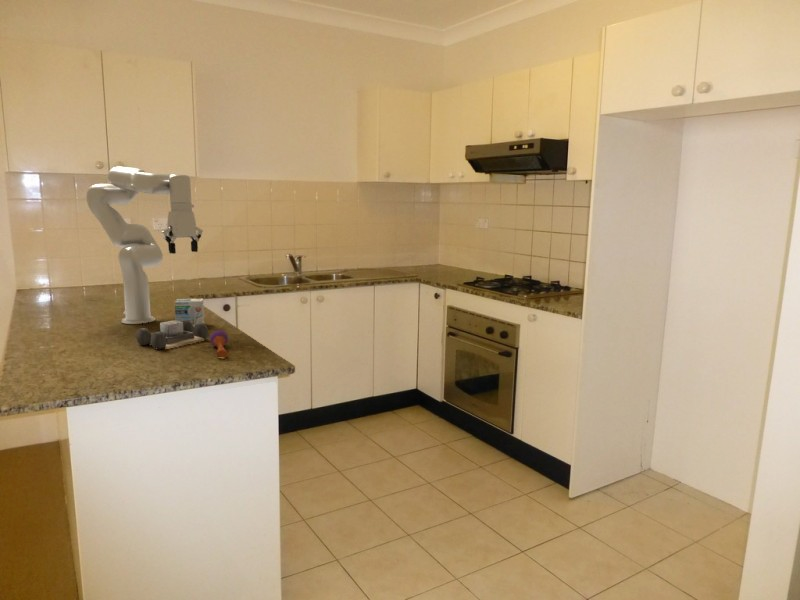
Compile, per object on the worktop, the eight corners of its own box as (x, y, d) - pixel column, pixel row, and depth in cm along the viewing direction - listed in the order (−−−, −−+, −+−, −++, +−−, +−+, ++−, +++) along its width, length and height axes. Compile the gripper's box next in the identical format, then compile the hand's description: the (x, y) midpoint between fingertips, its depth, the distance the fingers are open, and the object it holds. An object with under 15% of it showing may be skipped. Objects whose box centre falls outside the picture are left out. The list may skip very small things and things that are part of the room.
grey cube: (160, 339, 206) (159, 322, 205) (174, 336, 210) (173, 320, 209) (170, 341, 203) (169, 324, 202) (183, 338, 207) (182, 322, 206)
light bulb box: (175, 328, 228) (173, 301, 227) (177, 324, 235) (175, 298, 233) (203, 327, 231) (202, 300, 229) (204, 323, 238) (203, 298, 236)
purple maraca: (210, 348, 184) (207, 330, 202) (214, 365, 186) (211, 346, 204) (229, 344, 186) (225, 326, 204) (233, 360, 187) (228, 341, 206)
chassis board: (135, 343, 204) (134, 327, 203) (182, 334, 219) (181, 318, 218) (161, 351, 195) (160, 333, 193) (208, 340, 210) (208, 324, 209)
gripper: (194, 207, 228) (196, 250, 231) (154, 207, 214) (157, 253, 217) (206, 207, 224) (208, 251, 227) (166, 208, 210) (169, 254, 213)
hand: (183, 252), depth 222 cm, fingers open, 9 cm apart
